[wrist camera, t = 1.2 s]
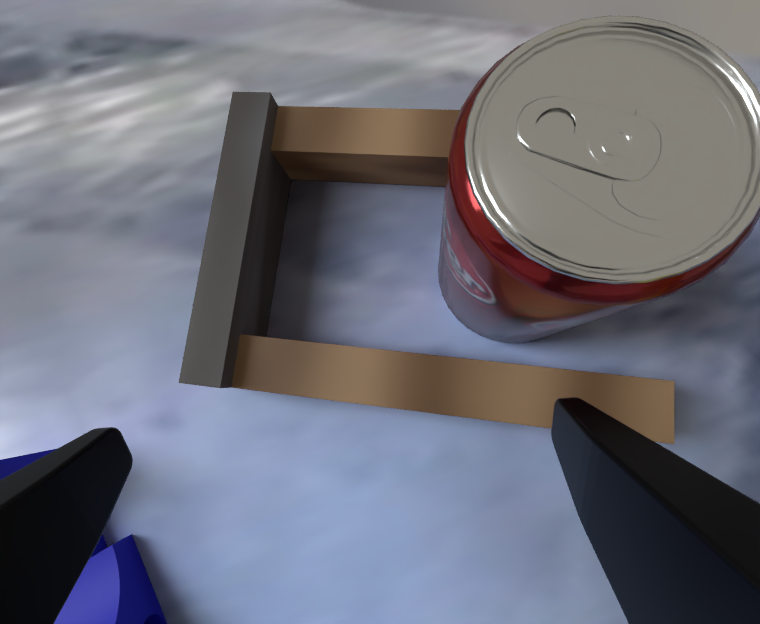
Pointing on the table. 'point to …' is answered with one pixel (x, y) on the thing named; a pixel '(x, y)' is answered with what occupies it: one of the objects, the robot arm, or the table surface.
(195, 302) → the block
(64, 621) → the cable clip
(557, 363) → the table surface
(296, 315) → the table surface
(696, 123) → the soda can
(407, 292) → the table surface
